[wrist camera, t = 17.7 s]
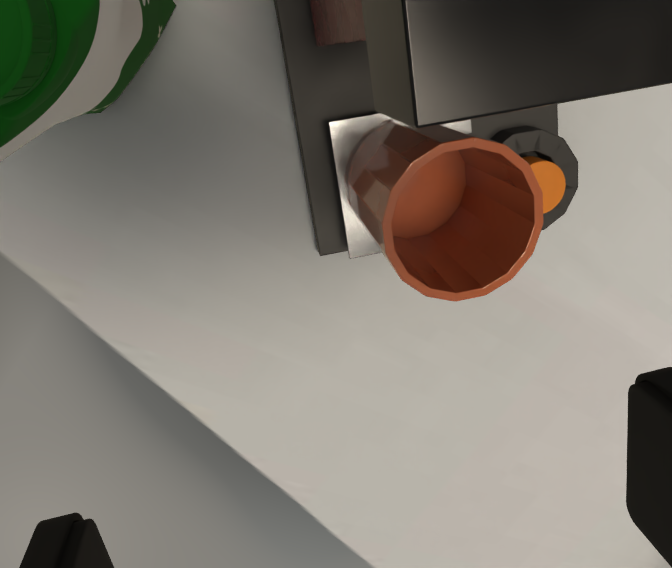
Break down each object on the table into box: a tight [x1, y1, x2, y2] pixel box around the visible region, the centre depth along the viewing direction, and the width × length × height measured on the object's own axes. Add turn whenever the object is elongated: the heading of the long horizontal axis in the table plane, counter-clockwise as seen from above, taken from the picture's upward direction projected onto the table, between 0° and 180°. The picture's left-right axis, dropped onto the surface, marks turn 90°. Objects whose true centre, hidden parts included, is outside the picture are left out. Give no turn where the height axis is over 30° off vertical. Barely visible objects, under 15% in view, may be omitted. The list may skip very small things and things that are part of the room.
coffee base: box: [274, 0, 578, 256], centre depth 34 cm, size 15×16×3 cm
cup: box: [348, 120, 543, 301], centre depth 29 cm, size 7×7×9 cm
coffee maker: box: [310, 0, 672, 259], centre depth 23 cm, size 16×12×19 cm
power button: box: [522, 156, 566, 214], centre depth 34 cm, size 3×3×2 cm
